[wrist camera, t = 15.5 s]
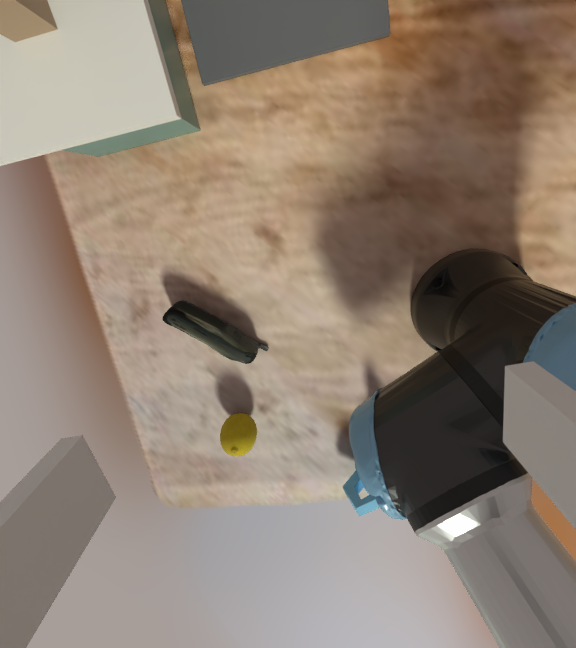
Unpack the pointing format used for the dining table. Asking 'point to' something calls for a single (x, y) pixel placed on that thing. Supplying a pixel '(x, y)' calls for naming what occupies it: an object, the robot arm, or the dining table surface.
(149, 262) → the dining table surface
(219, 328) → the mobile phone
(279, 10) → the mat
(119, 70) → the lid
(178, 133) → the teal storage bin
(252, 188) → the dining table surface
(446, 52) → the dining table surface
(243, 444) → the lemon
